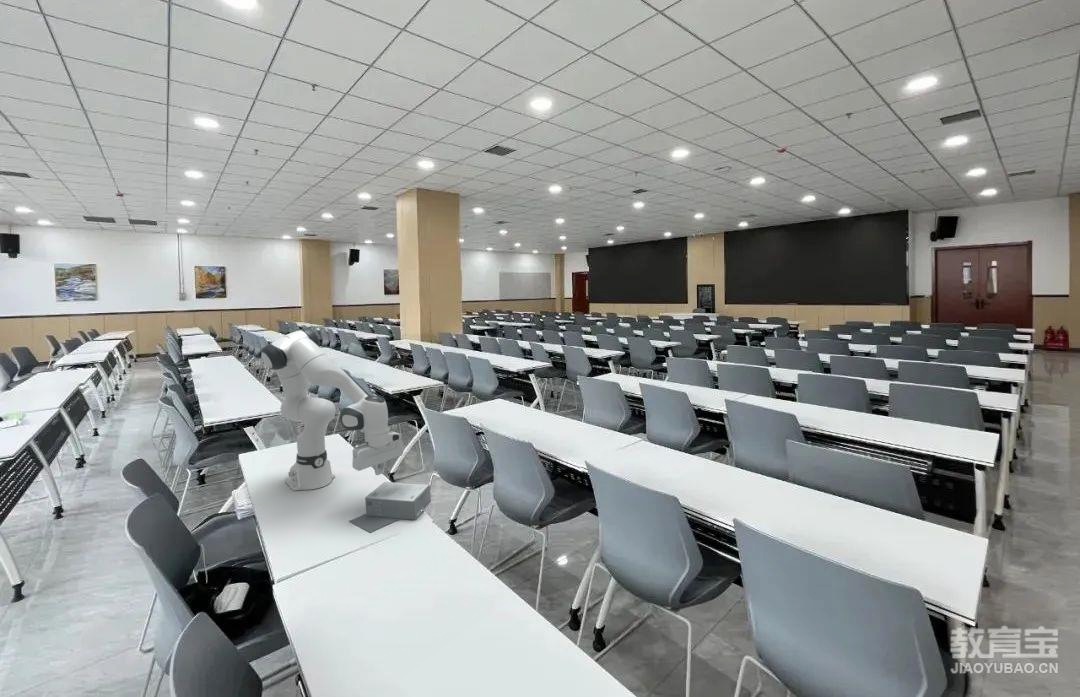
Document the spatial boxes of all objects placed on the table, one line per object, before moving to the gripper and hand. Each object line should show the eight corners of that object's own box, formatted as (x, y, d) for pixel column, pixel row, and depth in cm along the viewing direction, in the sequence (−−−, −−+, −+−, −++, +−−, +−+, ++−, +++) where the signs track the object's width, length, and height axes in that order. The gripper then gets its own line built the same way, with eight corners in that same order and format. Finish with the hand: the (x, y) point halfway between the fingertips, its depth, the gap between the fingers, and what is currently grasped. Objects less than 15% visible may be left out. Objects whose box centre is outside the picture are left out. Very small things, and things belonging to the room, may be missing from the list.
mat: (348, 521, 188) (348, 520, 188) (398, 500, 205) (398, 500, 204) (370, 533, 179) (370, 532, 179) (420, 510, 196) (420, 509, 196)
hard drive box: (365, 516, 191) (414, 520, 187) (363, 497, 190) (413, 501, 186) (385, 498, 206) (431, 501, 202) (384, 480, 205) (430, 483, 201)
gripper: (357, 448, 180) (360, 485, 182) (404, 433, 196) (406, 467, 198) (347, 444, 184) (350, 481, 186) (394, 430, 200) (396, 463, 202)
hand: (379, 473), depth 192 cm, fingers closed
